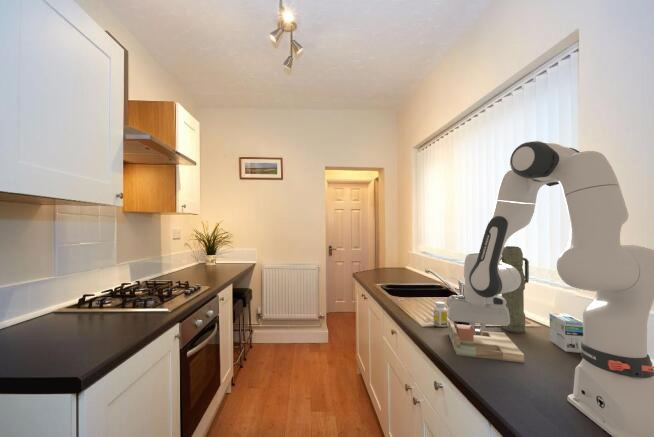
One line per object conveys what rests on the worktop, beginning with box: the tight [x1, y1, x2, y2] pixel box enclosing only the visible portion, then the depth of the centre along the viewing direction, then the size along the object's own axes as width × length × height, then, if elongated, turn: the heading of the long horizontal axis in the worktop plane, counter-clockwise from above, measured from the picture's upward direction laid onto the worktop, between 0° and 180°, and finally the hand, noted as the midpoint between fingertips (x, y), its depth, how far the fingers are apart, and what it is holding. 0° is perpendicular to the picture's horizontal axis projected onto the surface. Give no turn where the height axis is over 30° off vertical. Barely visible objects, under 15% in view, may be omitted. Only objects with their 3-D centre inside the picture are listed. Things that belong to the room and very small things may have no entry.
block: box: [455, 323, 474, 341], centre depth 108 cm, size 5×5×4 cm
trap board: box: [448, 319, 525, 364], centre depth 106 cm, size 20×20×6 cm
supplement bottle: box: [433, 301, 448, 328], centre depth 130 cm, size 5×5×10 cm
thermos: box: [500, 245, 530, 334], centre depth 125 cm, size 9×12×35 cm
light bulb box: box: [548, 312, 583, 354], centre depth 107 cm, size 11×7×11 cm, turn 168°
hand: (477, 335), depth 107 cm, fingers closed
